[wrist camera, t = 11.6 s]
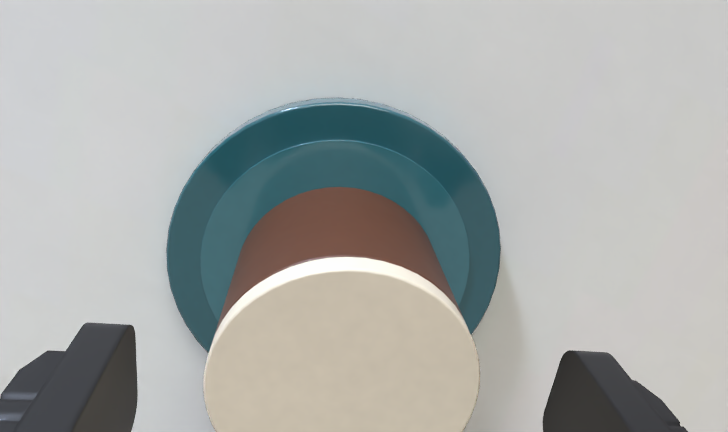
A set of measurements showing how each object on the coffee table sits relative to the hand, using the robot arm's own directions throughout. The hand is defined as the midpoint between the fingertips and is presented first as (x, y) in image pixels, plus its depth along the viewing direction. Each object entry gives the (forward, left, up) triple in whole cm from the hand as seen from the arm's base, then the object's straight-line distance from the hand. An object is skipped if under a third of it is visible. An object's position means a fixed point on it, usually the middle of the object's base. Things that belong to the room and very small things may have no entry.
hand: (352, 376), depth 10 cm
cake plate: (+1, 0, -7) cm, 7 cm away
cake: (+1, 0, -6) cm, 6 cm away
